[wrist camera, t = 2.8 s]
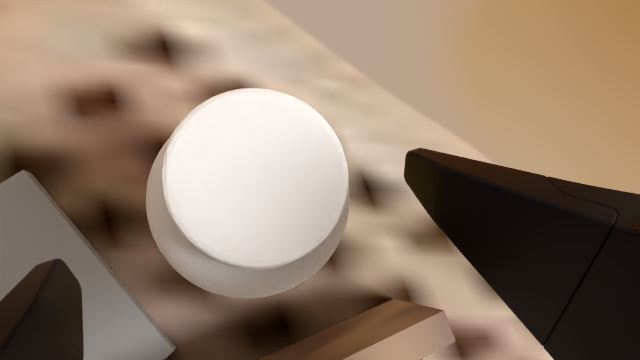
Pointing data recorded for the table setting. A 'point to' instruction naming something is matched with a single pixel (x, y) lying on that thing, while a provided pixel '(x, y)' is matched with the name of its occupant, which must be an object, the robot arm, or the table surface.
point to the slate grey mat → (85, 263)
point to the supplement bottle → (249, 194)
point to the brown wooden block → (376, 336)
